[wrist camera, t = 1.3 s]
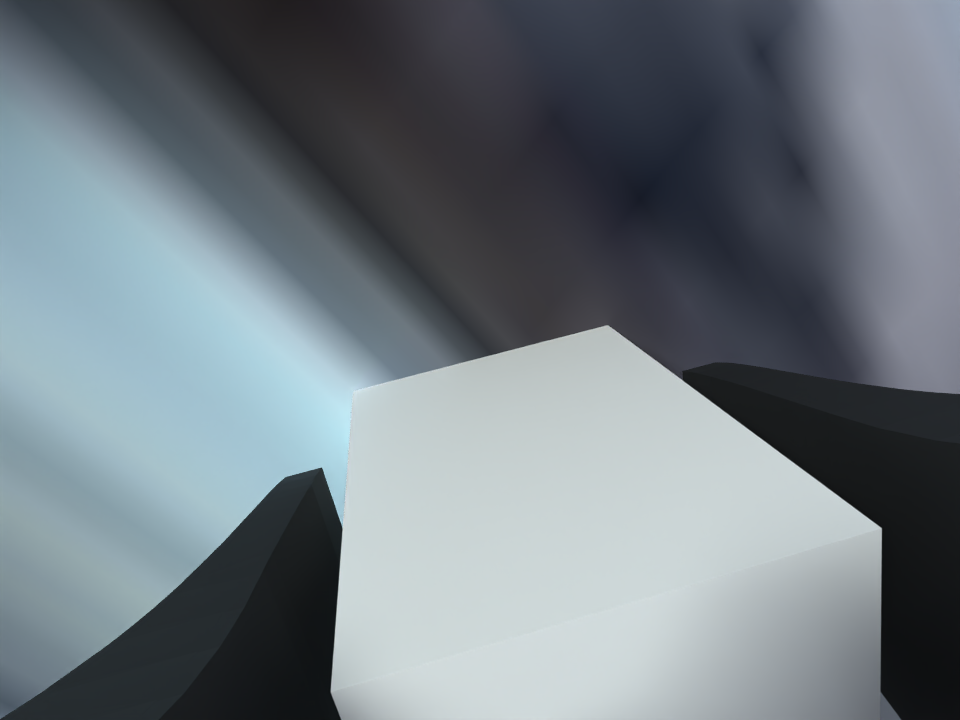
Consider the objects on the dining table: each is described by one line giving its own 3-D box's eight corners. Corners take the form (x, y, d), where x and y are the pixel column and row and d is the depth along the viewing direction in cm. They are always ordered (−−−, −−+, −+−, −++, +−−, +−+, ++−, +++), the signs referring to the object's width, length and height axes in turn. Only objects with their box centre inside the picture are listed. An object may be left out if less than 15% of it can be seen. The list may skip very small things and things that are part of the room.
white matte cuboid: (353, 390, 12) (331, 692, 5) (607, 325, 12) (882, 529, 6) (403, 556, 13) (436, 965, 7) (632, 492, 14) (878, 814, 7)
